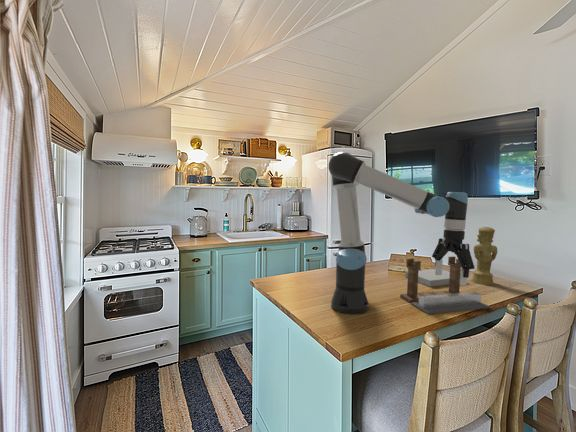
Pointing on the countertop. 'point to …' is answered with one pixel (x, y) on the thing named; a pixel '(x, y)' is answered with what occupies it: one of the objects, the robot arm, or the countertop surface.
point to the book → (432, 277)
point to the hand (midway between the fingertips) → (450, 279)
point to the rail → (449, 299)
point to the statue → (484, 256)
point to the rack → (453, 288)
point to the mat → (450, 308)
